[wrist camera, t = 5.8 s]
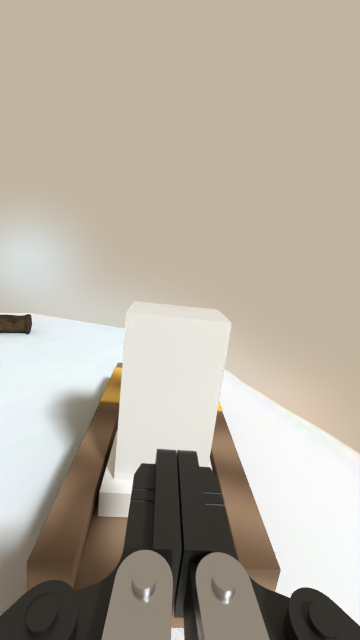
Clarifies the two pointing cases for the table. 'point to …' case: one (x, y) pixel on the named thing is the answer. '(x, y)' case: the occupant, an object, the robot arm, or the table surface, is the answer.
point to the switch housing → (109, 532)
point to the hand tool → (15, 323)
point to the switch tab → (164, 392)
